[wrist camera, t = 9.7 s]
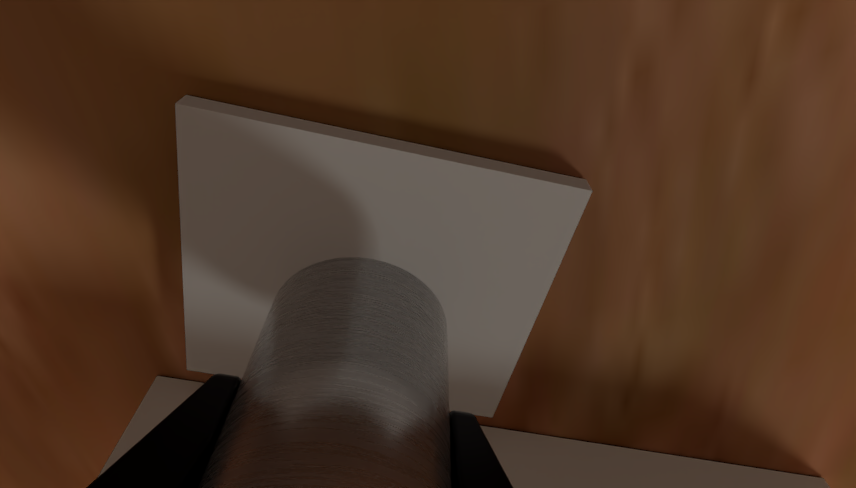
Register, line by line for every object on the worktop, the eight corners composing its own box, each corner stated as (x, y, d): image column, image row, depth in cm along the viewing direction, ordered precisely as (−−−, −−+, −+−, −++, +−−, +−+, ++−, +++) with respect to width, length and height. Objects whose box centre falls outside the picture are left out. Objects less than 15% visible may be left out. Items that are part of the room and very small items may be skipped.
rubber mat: (586, 179, 11) (592, 190, 10) (490, 402, 15) (492, 417, 14) (185, 95, 10) (174, 103, 9) (194, 355, 14) (186, 370, 13)
